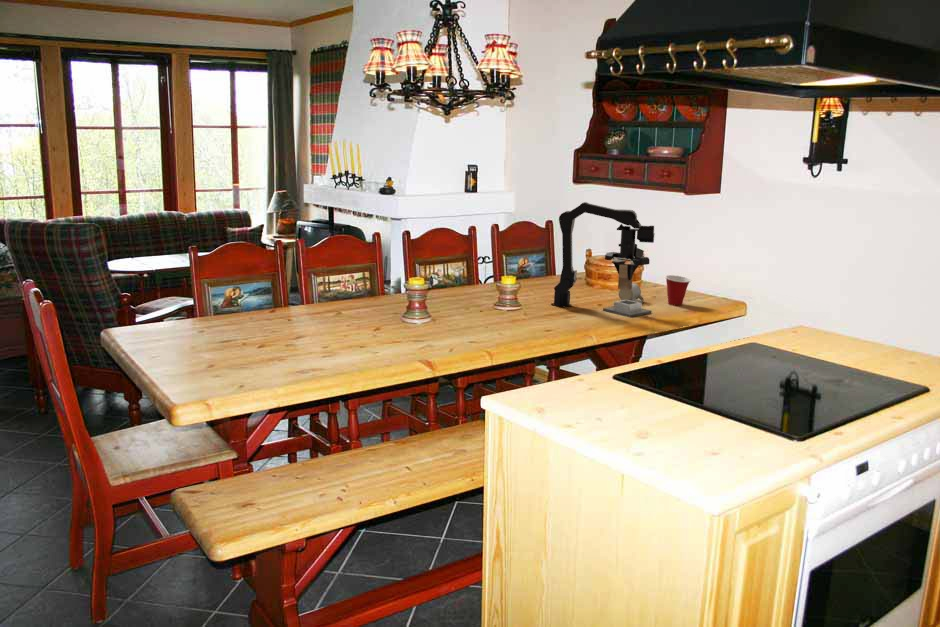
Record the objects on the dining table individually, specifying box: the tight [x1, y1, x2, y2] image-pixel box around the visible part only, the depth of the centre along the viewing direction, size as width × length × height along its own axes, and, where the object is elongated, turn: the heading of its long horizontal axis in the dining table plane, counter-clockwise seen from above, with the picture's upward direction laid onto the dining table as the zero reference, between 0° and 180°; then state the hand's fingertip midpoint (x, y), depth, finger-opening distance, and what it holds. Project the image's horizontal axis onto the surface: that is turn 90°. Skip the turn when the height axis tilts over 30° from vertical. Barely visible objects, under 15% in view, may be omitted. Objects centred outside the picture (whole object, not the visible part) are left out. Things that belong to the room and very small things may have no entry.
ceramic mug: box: [618, 282, 645, 304], centre depth 337 cm, size 11×8×8 cm
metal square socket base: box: [602, 299, 652, 318], centre depth 318 cm, size 14×14×4 cm
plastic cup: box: [665, 275, 692, 307], centre depth 334 cm, size 11×11×12 cm
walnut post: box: [617, 263, 634, 290], centre depth 315 cm, size 4×4×10 cm
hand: (625, 279), depth 315 cm, fingers closed on walnut post, 4 cm apart
